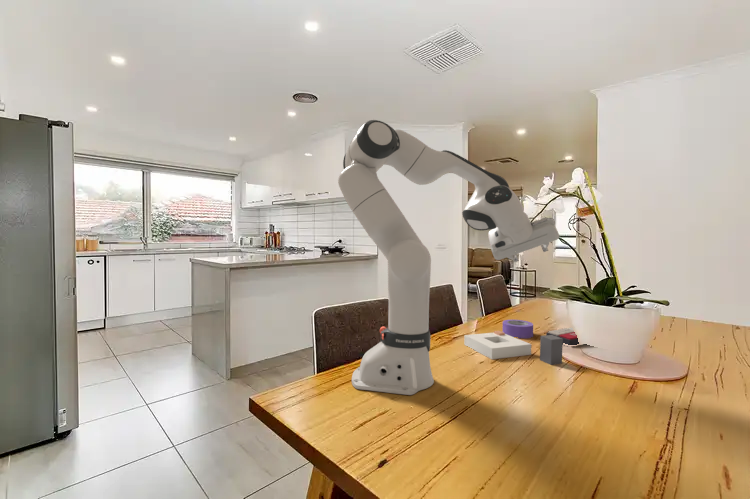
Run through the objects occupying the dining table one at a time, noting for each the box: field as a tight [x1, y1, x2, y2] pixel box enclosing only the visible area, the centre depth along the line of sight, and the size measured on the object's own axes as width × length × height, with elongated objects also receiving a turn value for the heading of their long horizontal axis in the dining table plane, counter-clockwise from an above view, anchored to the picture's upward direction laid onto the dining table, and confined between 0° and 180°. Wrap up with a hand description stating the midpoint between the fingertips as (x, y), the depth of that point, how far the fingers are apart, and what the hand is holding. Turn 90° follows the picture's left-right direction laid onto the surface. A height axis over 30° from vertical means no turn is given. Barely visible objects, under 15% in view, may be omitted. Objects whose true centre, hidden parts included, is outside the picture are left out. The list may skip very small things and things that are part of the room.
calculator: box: [545, 327, 579, 345], centre depth 135 cm, size 11×4×15 cm
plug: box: [539, 334, 564, 366], centre depth 111 cm, size 4×4×8 cm
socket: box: [463, 330, 532, 360], centre depth 123 cm, size 16×16×4 cm
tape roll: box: [502, 319, 534, 339], centre depth 143 cm, size 12×12×5 cm
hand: (530, 255), depth 113 cm, fingers open, 8 cm apart
